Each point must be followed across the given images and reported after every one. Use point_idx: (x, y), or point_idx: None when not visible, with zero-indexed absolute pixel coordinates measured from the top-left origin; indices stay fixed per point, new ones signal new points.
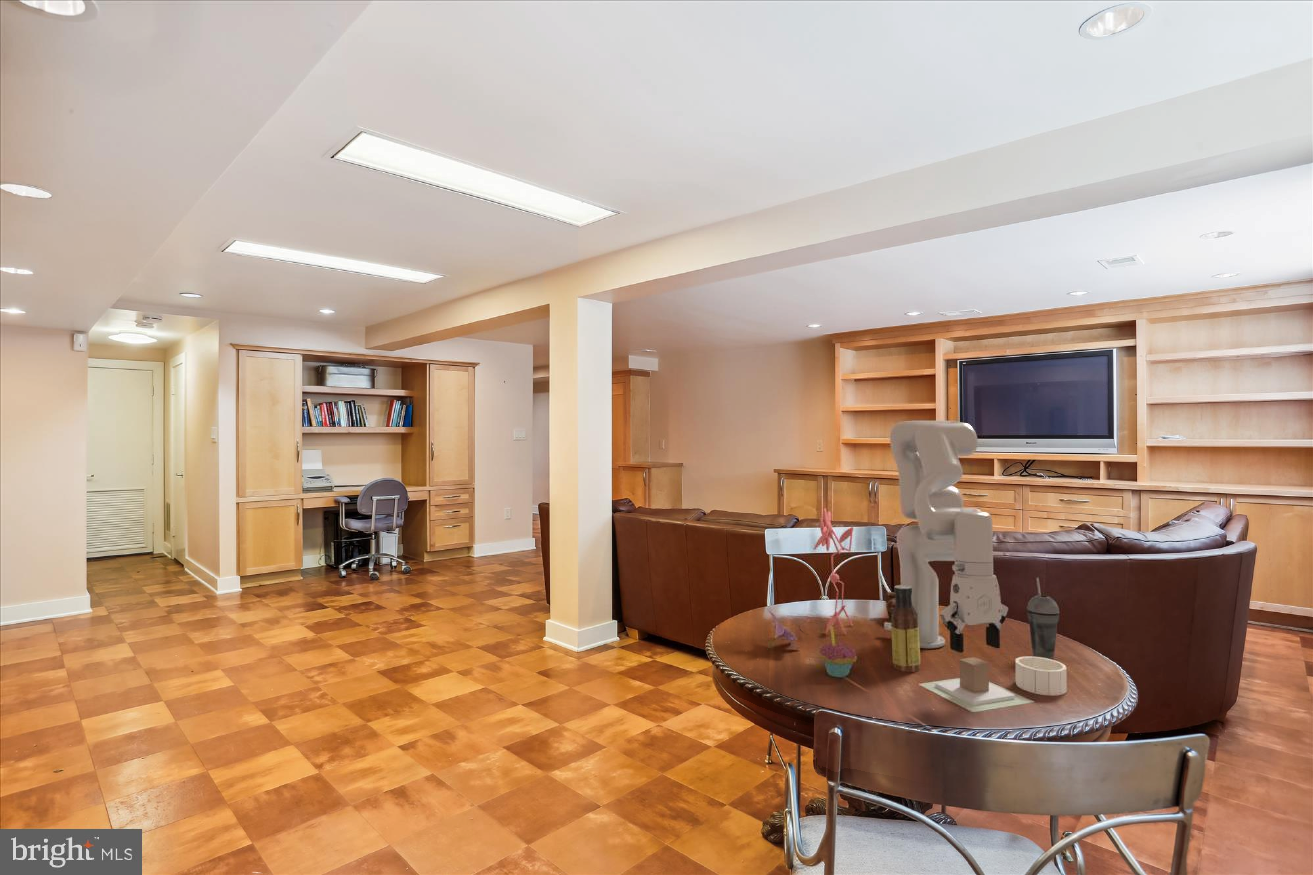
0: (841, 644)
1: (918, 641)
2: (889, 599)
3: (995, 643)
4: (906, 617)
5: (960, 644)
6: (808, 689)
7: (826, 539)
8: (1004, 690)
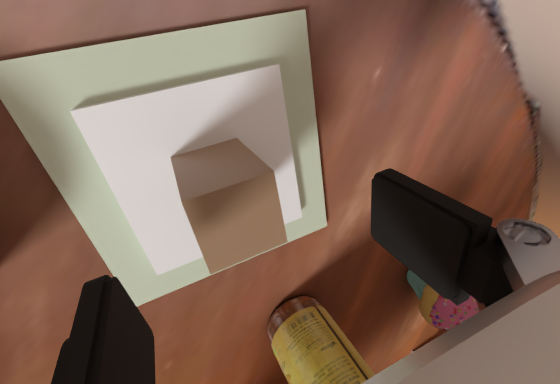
0: (471, 311)
1: (313, 380)
2: None
3: (116, 305)
4: None
5: (423, 188)
6: (498, 193)
7: None
8: (99, 161)
